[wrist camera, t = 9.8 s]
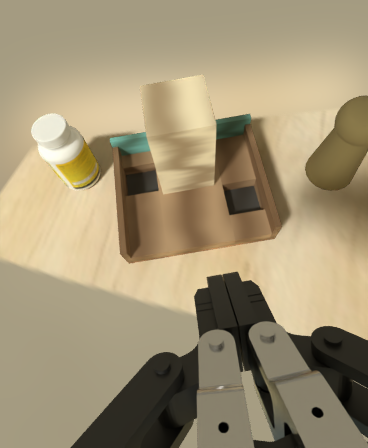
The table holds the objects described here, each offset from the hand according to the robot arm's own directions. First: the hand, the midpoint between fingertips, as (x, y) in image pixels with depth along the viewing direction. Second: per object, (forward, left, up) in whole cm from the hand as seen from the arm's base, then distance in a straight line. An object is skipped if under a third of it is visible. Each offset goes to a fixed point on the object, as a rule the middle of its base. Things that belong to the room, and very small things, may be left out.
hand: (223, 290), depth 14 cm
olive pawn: (-19, -16, -20) cm, 32 cm away
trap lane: (0, -16, -20) cm, 26 cm away
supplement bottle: (+14, -22, -20) cm, 34 cm away
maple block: (0, -19, -18) cm, 27 cm away
